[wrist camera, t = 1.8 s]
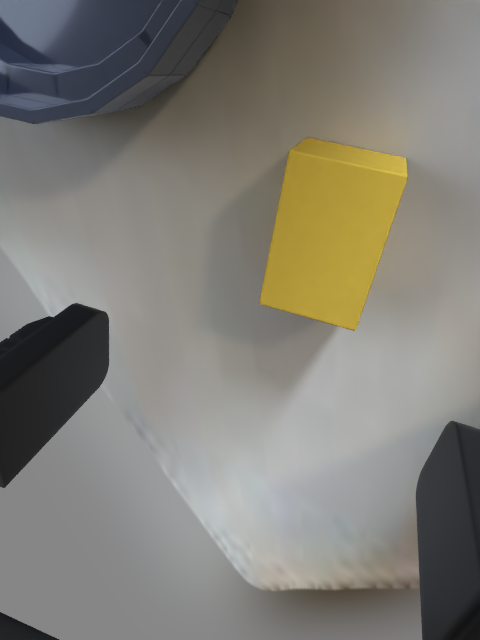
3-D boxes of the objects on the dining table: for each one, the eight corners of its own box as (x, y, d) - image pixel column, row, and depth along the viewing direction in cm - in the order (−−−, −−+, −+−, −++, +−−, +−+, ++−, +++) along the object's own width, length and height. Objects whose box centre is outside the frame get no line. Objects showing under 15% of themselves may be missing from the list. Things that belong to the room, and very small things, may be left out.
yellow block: (306, 136, 21) (288, 149, 17) (406, 157, 20) (408, 175, 16) (277, 272, 24) (258, 304, 21) (361, 294, 23) (355, 331, 20)
